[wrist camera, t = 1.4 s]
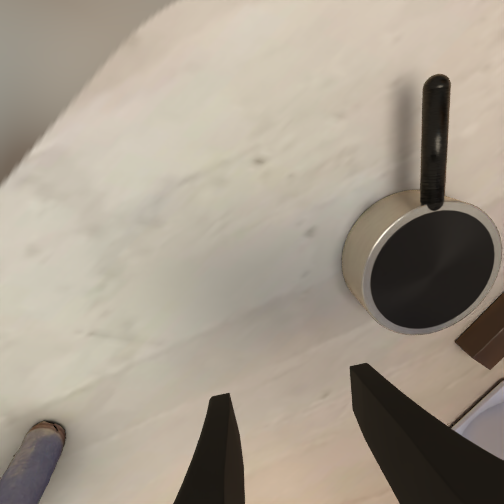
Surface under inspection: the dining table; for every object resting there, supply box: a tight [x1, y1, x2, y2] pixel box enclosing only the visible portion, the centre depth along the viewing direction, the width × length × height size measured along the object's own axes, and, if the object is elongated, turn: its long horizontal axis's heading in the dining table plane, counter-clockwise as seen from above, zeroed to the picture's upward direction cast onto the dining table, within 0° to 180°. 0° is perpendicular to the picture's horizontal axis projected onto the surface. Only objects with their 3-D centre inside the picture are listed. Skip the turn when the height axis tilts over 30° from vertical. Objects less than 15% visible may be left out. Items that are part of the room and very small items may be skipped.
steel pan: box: [342, 74, 502, 335], centre depth 18 cm, size 14×8×3 cm, turn 10°
